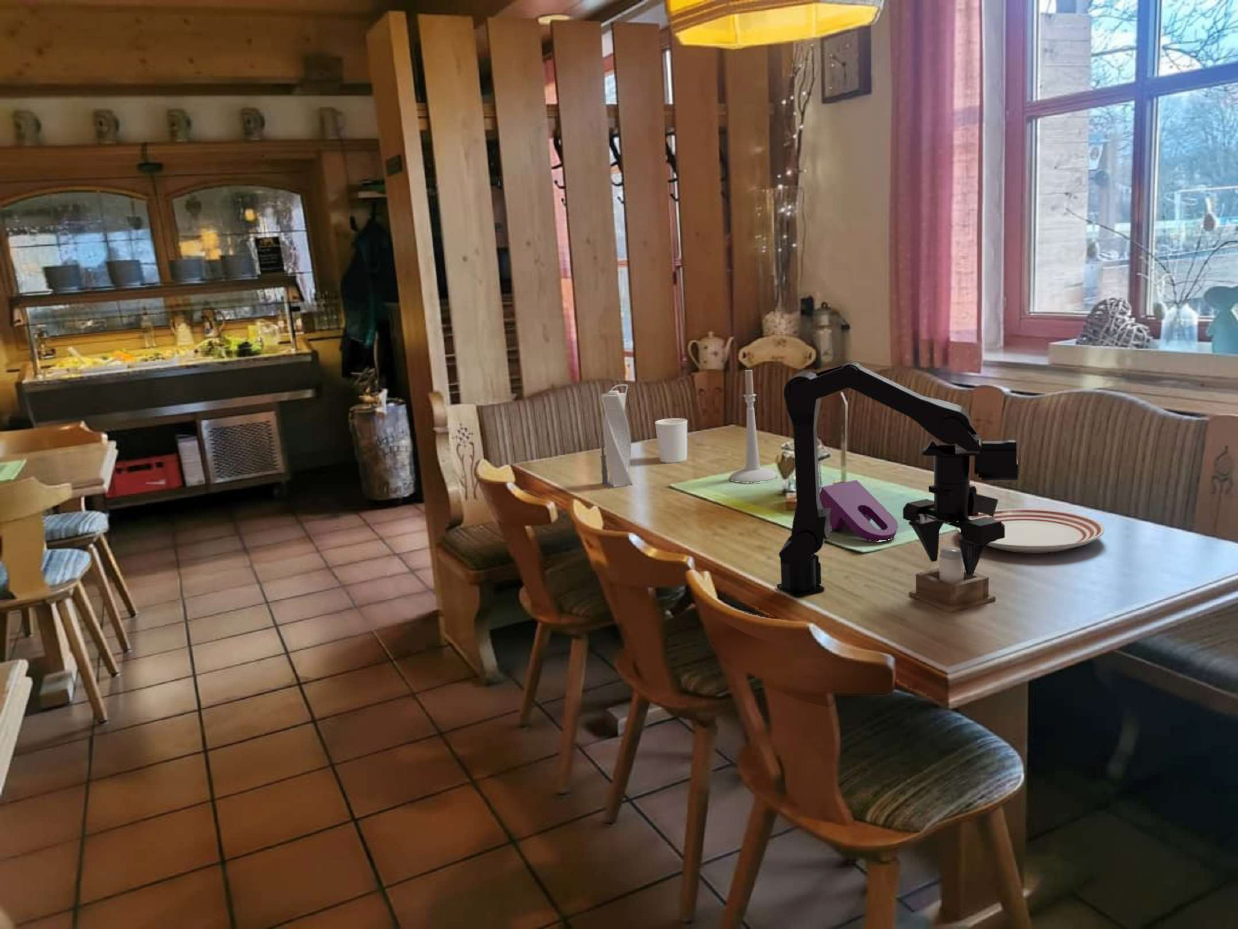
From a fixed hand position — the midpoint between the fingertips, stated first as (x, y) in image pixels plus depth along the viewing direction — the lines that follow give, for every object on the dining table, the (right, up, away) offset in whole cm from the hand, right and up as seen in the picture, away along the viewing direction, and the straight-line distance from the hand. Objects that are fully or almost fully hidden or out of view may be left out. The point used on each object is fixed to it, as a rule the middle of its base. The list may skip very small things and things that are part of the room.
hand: (951, 568), depth 162 cm
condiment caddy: (0, -5, +1) cm, 5 cm away
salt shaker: (0, -5, +1) cm, 5 cm away
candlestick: (-21, +14, +95) cm, 98 cm away
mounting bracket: (-5, +3, +41) cm, 42 cm away
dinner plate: (+25, +2, +28) cm, 38 cm away
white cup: (-41, +19, +124) cm, 132 cm away
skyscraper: (-57, +12, +99) cm, 115 cm away
